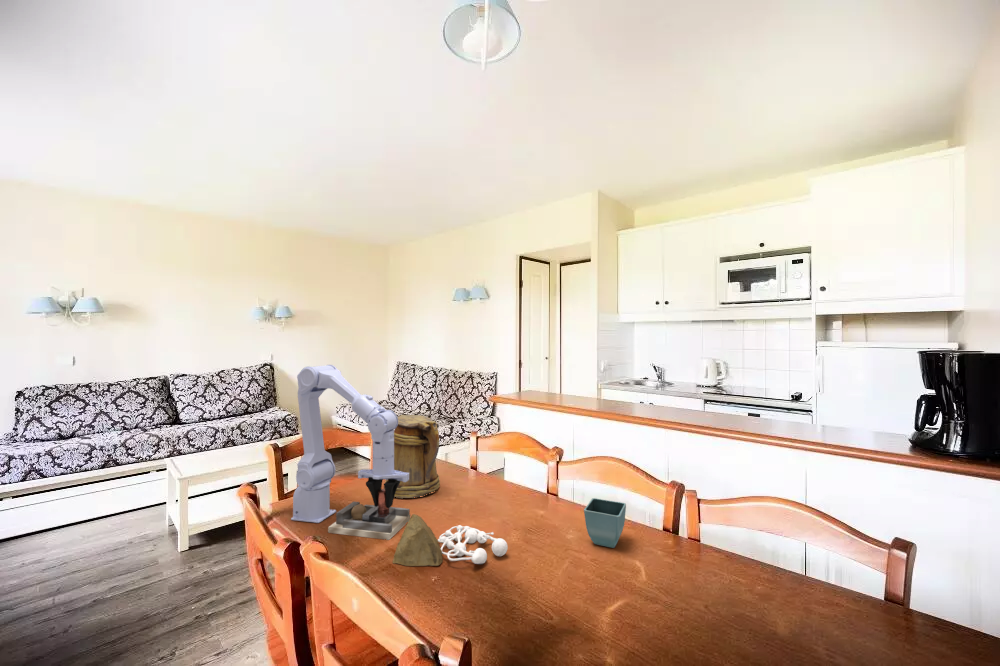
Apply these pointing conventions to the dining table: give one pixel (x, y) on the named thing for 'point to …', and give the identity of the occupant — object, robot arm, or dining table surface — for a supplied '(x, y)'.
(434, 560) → the rock
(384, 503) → the sliding jaw
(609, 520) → the flower pot
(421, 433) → the tankard
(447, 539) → the white knotted ball cord
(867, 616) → the dining table surface
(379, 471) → the robot arm
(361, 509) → the walnut
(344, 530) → the base
